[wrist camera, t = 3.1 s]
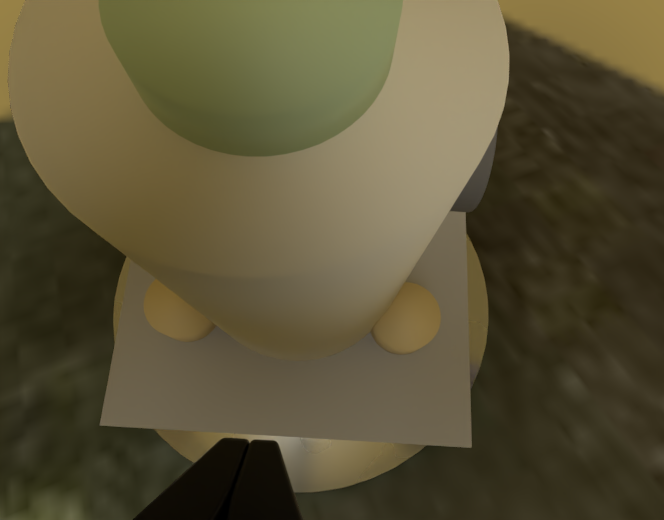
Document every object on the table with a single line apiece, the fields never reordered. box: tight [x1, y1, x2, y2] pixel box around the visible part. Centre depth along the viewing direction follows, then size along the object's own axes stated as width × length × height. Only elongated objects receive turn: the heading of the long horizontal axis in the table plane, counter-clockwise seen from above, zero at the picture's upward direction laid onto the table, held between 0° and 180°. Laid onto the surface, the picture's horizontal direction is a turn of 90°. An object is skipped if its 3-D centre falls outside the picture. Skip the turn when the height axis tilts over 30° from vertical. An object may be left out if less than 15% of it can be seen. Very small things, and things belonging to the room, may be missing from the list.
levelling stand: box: [113, 233, 488, 493], centre depth 17 cm, size 13×13×2 cm
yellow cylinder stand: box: [8, 0, 509, 448], centre depth 10 cm, size 10×10×11 cm
